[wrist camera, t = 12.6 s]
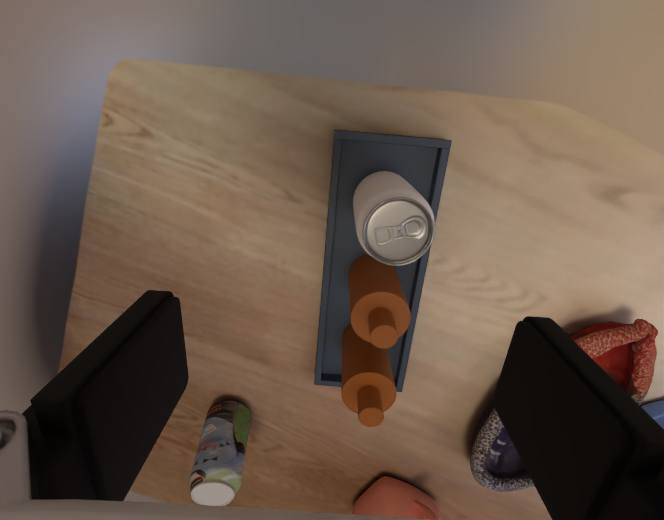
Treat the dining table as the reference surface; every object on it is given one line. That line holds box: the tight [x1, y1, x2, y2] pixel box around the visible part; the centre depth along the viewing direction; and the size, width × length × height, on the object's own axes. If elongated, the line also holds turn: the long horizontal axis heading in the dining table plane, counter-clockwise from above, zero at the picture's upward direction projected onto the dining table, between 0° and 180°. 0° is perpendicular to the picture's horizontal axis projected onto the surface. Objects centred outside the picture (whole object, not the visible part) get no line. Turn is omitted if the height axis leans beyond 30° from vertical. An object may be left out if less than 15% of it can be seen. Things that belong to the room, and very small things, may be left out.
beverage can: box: [189, 401, 251, 506], centre depth 46 cm, size 6×7×12 cm
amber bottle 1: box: [349, 254, 411, 349], centre depth 36 cm, size 6×6×13 cm
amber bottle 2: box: [342, 324, 396, 427], centre depth 39 cm, size 6×6×13 cm
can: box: [353, 171, 435, 266], centre depth 33 cm, size 6×6×12 cm
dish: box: [470, 319, 658, 491], centre depth 46 cm, size 16×31×5 cm, turn 150°
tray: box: [314, 130, 451, 392], centre depth 42 cm, size 32×12×2 cm, turn 175°
